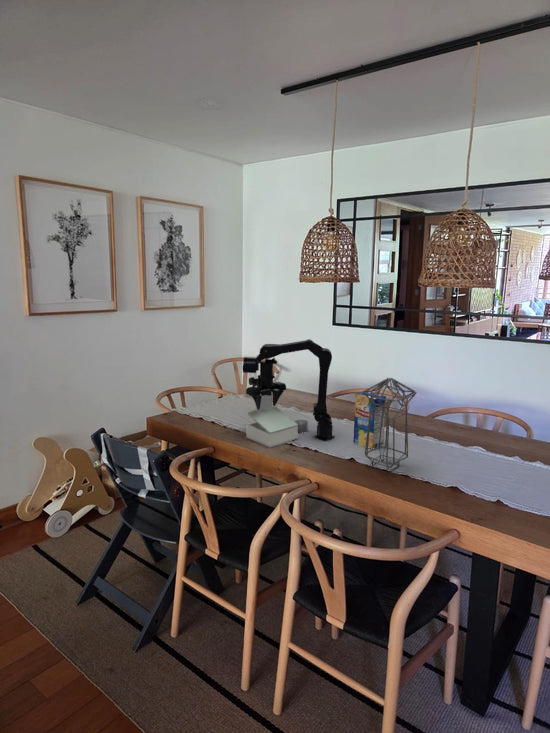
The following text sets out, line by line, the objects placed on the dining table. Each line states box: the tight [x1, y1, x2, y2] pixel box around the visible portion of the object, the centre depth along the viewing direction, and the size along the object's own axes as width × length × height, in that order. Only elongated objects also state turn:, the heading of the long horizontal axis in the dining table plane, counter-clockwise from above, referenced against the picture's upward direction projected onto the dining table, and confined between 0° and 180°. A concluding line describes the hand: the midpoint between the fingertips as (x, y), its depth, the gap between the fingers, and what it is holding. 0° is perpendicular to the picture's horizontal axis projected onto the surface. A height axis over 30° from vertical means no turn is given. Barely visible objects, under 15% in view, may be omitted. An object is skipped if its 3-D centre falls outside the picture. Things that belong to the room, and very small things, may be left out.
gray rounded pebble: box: [294, 419, 309, 434], centre depth 222 cm, size 6×6×4 cm
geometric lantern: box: [361, 377, 417, 471], centre depth 180 cm, size 16×16×35 cm
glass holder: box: [256, 386, 284, 411], centre depth 249 cm, size 9×14×15 cm, turn 105°
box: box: [245, 421, 299, 449], centre depth 212 cm, size 16×16×6 cm
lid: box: [247, 405, 298, 434], centre depth 210 cm, size 16×16×1 cm
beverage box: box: [352, 391, 387, 449], centre depth 204 cm, size 7×11×22 cm, turn 38°
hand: (266, 407), depth 214 cm, fingers open, 9 cm apart
